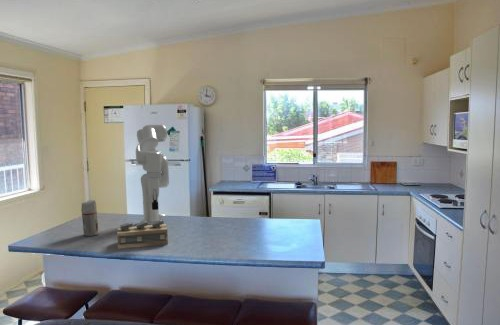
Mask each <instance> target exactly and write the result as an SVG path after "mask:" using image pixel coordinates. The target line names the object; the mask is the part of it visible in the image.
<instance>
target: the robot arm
mask: <svg viewBox="0 0 500 325" xmlns="http://www.w3.org/2000/svg"><path fill="white" fill-rule="evenodd" d="M167 129H168V128H167V127H166V126H165V125H164V124H147V125H144V126H143V127H142V128H141V129H140V128H139V129H138V130H137V131H136V137H137V142H138V144H137V146H136V147H135V160H136V163H137V164H138V165H141V166H142V169H143V170H144V171H146V173H143V174H141V176H140V185H141V188H142V189H141V190H142V210H143V219H142V220H141V222H144V221H148V225H152V223H154V222H156V221H159V220H162V219H163V218H166V214H165V213H164V214H163V213H161V214H160V211H159V196H160V188H167V187H169V185H170V173H169V172H170V171H169V160H168V158H167V156H166V155H164V154H163V153H162V151H161V150H156V148H157V147H158V145H159V143H163V142H165V141H166V140H167V137H168V130H167Z"/></svg>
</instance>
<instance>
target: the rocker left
mask: <svg viewBox="0 0 500 325" xmlns="http://www.w3.org/2000/svg"><path fill="white" fill-rule="evenodd" d="M124 226H128V228H129V227H133V226H134V225H133V222H132V221H131V222H127V223H123V224H120V226H119V227H120V228H121V230H122V229H124Z"/></svg>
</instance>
